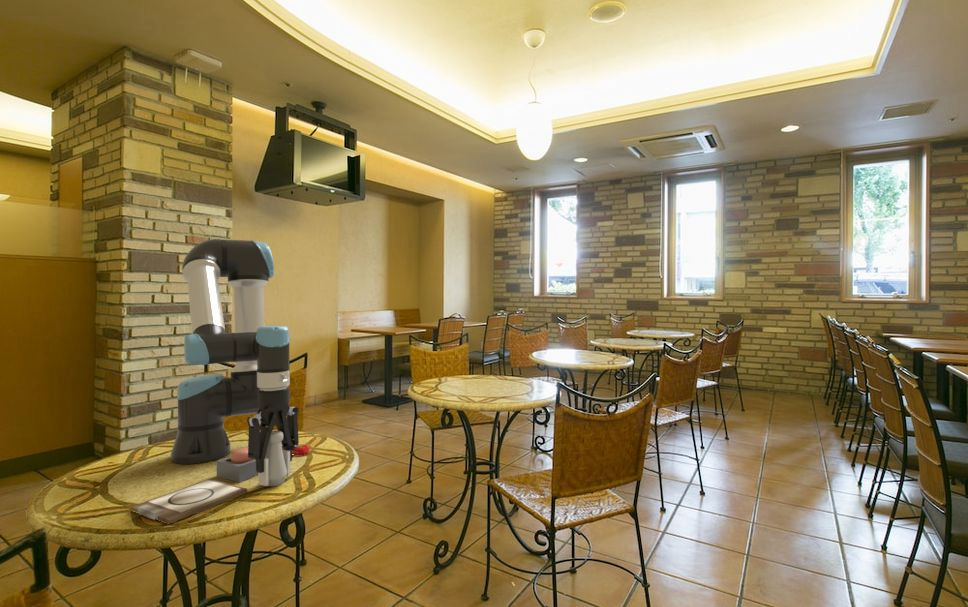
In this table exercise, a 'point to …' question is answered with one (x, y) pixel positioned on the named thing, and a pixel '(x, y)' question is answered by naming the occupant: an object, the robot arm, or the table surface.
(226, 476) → the button housing
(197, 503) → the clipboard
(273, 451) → the salt shaker
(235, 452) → the button
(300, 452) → the candy bar
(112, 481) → the table surface
